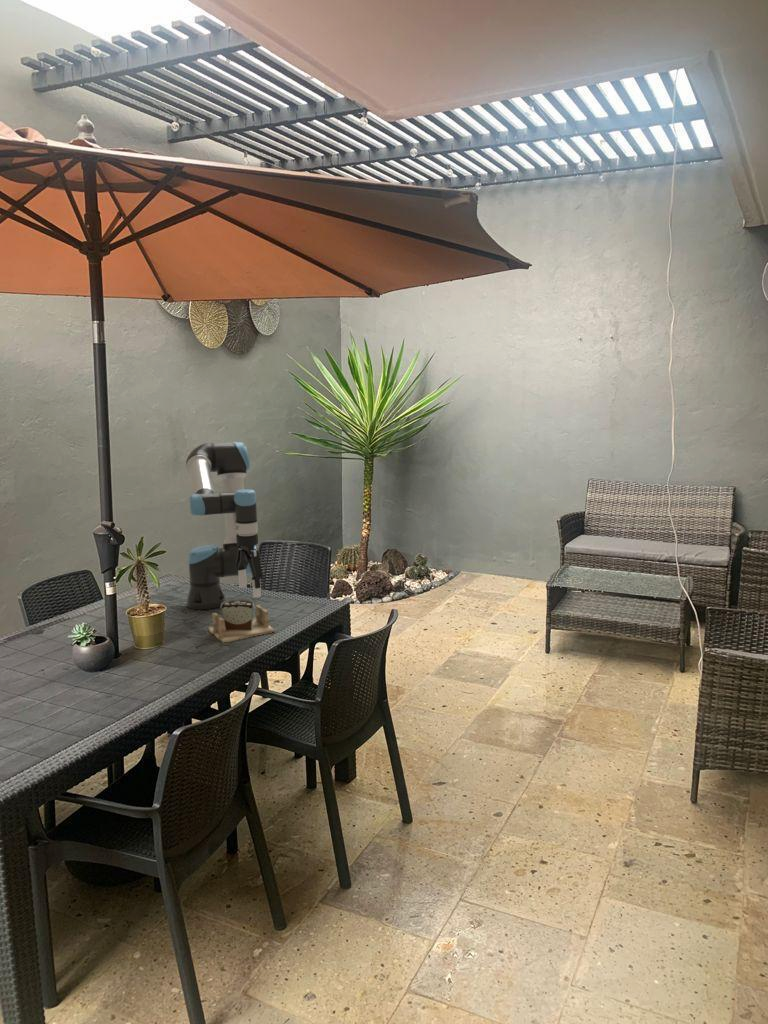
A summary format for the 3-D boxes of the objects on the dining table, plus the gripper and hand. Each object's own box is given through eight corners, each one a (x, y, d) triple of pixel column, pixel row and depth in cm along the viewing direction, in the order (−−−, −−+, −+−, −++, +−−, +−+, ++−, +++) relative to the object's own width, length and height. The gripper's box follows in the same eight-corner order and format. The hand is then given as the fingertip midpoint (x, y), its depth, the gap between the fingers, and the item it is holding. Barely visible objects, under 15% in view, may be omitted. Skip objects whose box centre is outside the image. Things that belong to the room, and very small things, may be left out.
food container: (259, 624, 264) (258, 598, 262) (255, 630, 258) (254, 603, 256) (226, 624, 265) (224, 598, 263) (221, 630, 259) (219, 603, 257)
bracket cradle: (208, 629, 263) (206, 611, 262) (257, 620, 273) (256, 602, 271) (223, 643, 249) (222, 623, 248) (275, 632, 259) (274, 613, 258)
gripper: (224, 528, 265) (227, 585, 269) (250, 541, 245) (253, 602, 249) (244, 526, 269) (247, 582, 273) (270, 539, 248) (273, 599, 252)
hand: (249, 592), depth 261 cm, fingers open, 13 cm apart
